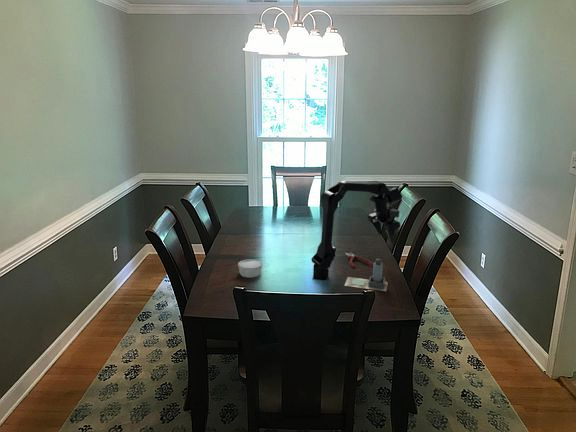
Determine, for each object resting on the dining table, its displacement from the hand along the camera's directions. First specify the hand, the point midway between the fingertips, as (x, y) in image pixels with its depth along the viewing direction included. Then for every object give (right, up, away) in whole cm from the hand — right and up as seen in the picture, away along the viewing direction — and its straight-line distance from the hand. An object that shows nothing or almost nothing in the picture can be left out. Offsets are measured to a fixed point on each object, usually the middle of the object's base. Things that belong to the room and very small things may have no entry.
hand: (385, 237), depth 219 cm
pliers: (-11, -13, +11) cm, 21 cm away
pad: (-15, -20, -15) cm, 29 cm away
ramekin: (-64, -17, -6) cm, 67 cm away
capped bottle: (-8, -20, -17) cm, 28 cm away
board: (-12, -20, -16) cm, 28 cm away
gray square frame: (-8, -20, -17) cm, 28 cm away
